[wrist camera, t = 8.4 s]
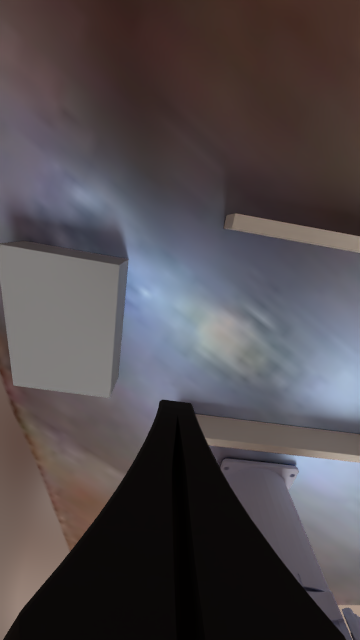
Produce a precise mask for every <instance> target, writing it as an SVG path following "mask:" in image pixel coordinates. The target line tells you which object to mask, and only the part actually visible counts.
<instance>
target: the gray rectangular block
mask: <svg viewBox="0 0 360 640" xmlns="http://www.w3.org/2000/svg"><path fill="white" fill-rule="evenodd" d="M128 260H129V259H125V258H119V257H114V256H108V255H102V254H97V253H91V252H85V251H79V250H74V249H68V248H62V247H57V246H51V245H45V244H39V243H34V242H28V241H18V242H8V243H0V282H1V290H2V298H3V306H4V314H5V322H6V330H7V338H8V345H9V353H10V361H11V369H12V377H13V385H14V386H22V387H30V388H37V389H45V390H52V391H60V392H68V393H75V394H83V395H90V396H98V397H105V398H110V397H111V394H112V392H113V389H114V387H115V384H116V381H117V379H118V375H119V364H120V352H121V340H122V329H123V317H124V306H125V294H126V283H127V271H128Z"/></svg>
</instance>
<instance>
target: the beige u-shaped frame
mask: <svg viewBox="0 0 360 640" xmlns="http://www.w3.org/2000/svg"><path fill="white" fill-rule="evenodd" d="M224 229H230V230H235V231H241V232H246V233H252V234H257V235H263V236H268V237H274V238H280V239H285V240H291V241H296V242H302V243H307V244H313V245H318V246H324V247H329V248H335V249H340V250H346V251H351V252H357V253H360V236H355V235H349V234H344V233H339V232H333V231H328V230H322V229H317V228H312V227H306V226H301V225H296V224H290V223H285V222H280V221H274V220H269V219H263V218H258V217H253V216H247V215H242V214H237V213H235V214H230V215H227V216H226V220H225V225H224ZM195 415H196V417H197V420H198V423H199V425H200V427H201V430H202V432H203V434H204V437H205V439H206V441H207V443H208V445H209V446H218V447H227V448H236V449H245V450H253V451H262V452H271V453H280V454H289V455H297V456H306V457H315V458H324V459H333V460H341V461H350V462H359V463H360V434H354V433H346V432H338V431H330V430H321V429H313V428H305V427H297V426H289V425H281V424H273V423H264V422H256V421H248V420H240V419H232V418H224V417H216V416H207V415H199V414H195Z"/></svg>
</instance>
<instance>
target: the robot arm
mask: <svg viewBox="0 0 360 640" xmlns="http://www.w3.org/2000/svg"><path fill="white" fill-rule="evenodd" d="M298 472H299V470H298V468H297V467H296V466H292V465H283V464H274V463H265V462H256V461H246V460H237V459H228V458H227V459H224V460H223V461H222V464H221V467H219V465H218V463H217V461H216V459H215V457H214V455H213V453H212V451H211V449H210V447H209V445H208V443H207V441H206V439H205V437H204V434H203V432H202V430H201V427H200V425H199V423H198V420H197V417H196V415H195V412H194V409H193V406H192V404H191V403H185V402H177V401H169V400H161V401H160V402H159V408H158V411H157V414H156V417H155V420H154V422H153V425H152V427H151V429H150V431H149V433H148V436H147V438H146V440H145V442H144V444H143V446H142V447H141V449H140V451H139V453H138V455H137V457H136V458H135V460H134V462H133V464H132V465H131V467H130V469H129V470H128V472H127V474H126V475H125V477H124V478H123V480H122V482H121V483H120V485H119V486H118V488H117V489H116V491H115V492H114V494H113V495H112V496H111V498H110V499H109V501H108V502H107V504H106V505H105V507H104V508H103V509H102V511H101V512H100V514H99V515H98V516H97V518H96V519H95V520H94V522H93V523H92V524H91V526H90V527H89V528H88V530H87V531H86V532H85V533H84V535H83V536H82V537H81V539H80V540H79V541H78V542H77V544H76V545H75V546H74V548H73V549H72V550H71V551H70V553H69V554H68V555H67V556H66V558H65V559H64V560H63V562H62V563H61V564H60V565H59V566H58V568H57V569H56V570H55V571H54V572H53V573H52V575H51V576H50V577H49V578H48V579H47V580H46V582H45V583H44V584H43V585H42V586H41V587H40V589H39V590H38V591H37V592H36V593H35V595H34V596H33V597H32V598H31V599H30V601H29V602H28V603H27V604H26V605H25V606H24V608H23V609H22V610H21V612H20V613H19V615H18V616H17V618H16V620H15V621H14V623H13V625H12V626H11V628H10V629H9V631H8V633H7V634H6V636H5V638H4V639H3V640H352V638H353V640H360V617H358V616H357V615H356V614H354V613H353V611H352V610H351V609H350V608H344V609H342V611H343V614H344V617H345V619H346V622H347V624H348V626H349V629H350V631H351V636H352V638H351V636H350V634H349V631H348V629H347V627H346V624H345V622H344V619H343V617H342V615H341V612H340V610H339V608H338V605H337V603H336V600H335V598H334V596H333V593H332V592H331V591H330V590H329V587H328V585H327V583H326V580H325V578H324V575H323V573H322V571H321V568H320V566H319V563H318V561H317V559H316V556H315V554H314V551H313V549H312V546H311V544H310V542H309V539H308V537H307V534H306V532H305V530H304V527H303V525H302V522H301V520H300V518H299V515H298V513H297V510H296V508H295V506H294V503H293V501H292V498H291V496H290V494H289V489H290V487H291V485H292V484H293V482H294V480H295V478H296V476H297V474H298Z"/></svg>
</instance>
